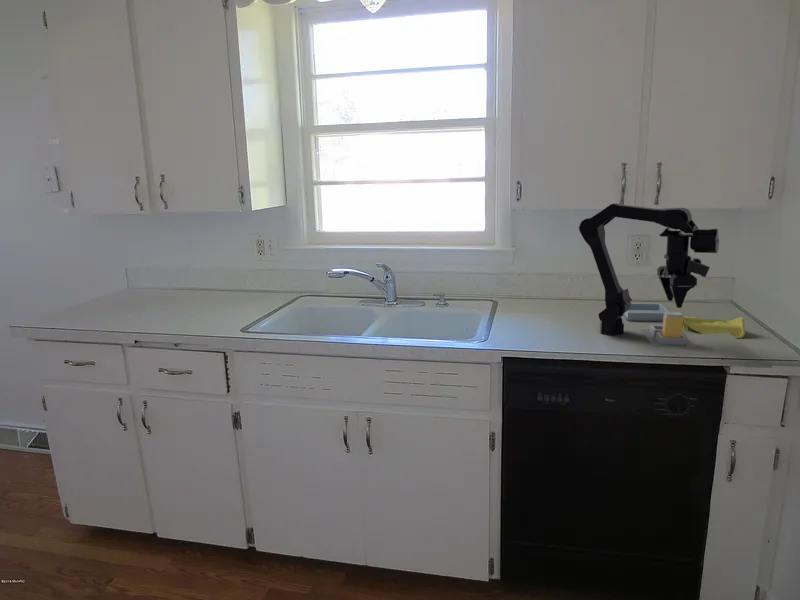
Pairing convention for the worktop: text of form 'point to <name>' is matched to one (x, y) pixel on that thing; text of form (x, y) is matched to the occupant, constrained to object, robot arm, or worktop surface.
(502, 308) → the worktop surface
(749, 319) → the worktop surface
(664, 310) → the parts tray
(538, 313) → the worktop surface
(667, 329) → the block
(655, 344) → the board
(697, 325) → the plastic component
